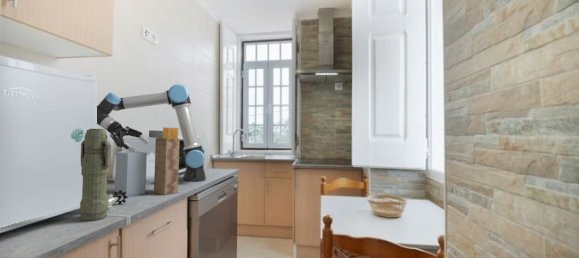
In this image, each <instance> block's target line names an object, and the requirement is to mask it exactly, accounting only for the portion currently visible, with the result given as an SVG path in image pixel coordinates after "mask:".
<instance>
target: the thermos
mask: <svg viewBox="0 0 579 258" xmlns="http://www.w3.org/2000/svg"><path fill="white" fill-rule="evenodd" d="M83 139H84V140H83V141H82V142H81V144H80V167H81V175H82V192H81V200H80V202H79V214H80V219H79V220H80V221H81V222H96V221H101V220H104V219H106V218H107V214H108V213H107V212H108V211H107V205H108V200H107V197H106V194H107V187H108V185H107V183H108V182H107V181H108V180H107V179H108V178H107V177H108V174H109V167H110V166H111V152H112V144H111V143H110V141H109V137H108V134H107V130H105V129H104V128H89V129H86V131H85V135H84V138H83Z"/></svg>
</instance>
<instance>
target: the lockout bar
mask: <svg viewBox="0 0 579 258" xmlns="http://www.w3.org/2000/svg"><path fill="white" fill-rule="evenodd" d="M148 138H154V139H156V138H163V139H179V127H162V130H154V129H153V130H149V131H148Z"/></svg>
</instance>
